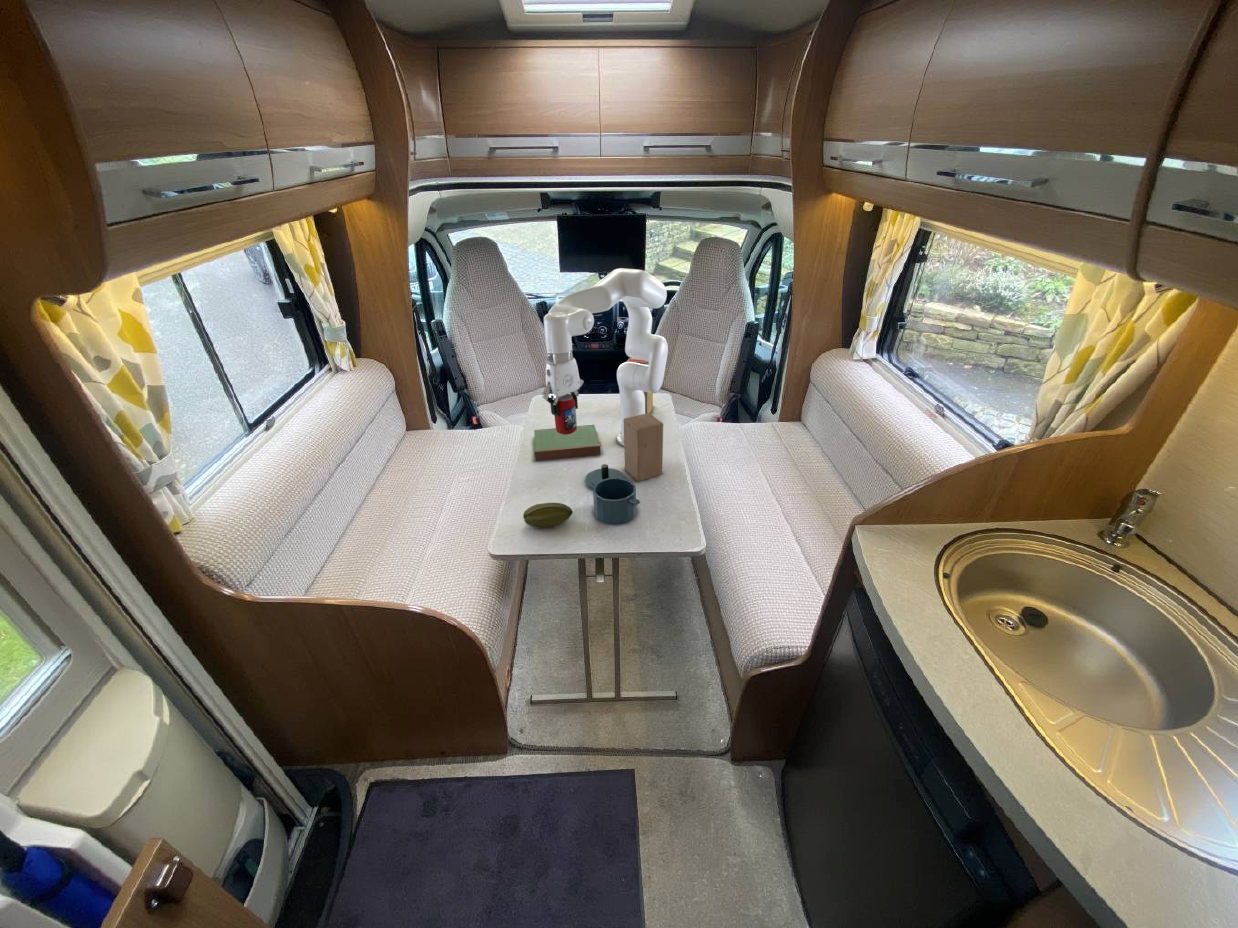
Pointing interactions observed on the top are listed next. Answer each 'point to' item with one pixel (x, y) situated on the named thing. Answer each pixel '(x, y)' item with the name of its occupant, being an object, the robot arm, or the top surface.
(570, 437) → the book
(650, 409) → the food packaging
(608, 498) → the pot
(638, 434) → the wooden block
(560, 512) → the fruit
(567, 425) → the beverage can
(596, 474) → the pot lid
